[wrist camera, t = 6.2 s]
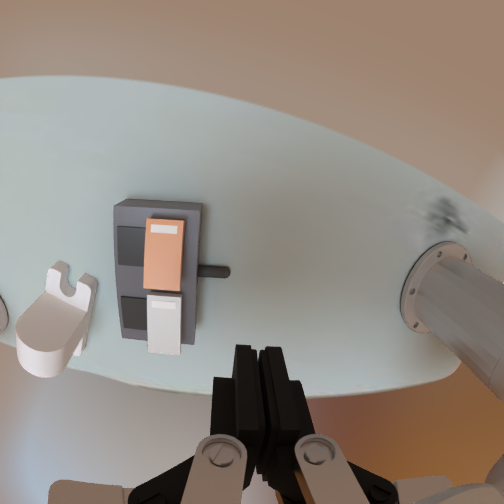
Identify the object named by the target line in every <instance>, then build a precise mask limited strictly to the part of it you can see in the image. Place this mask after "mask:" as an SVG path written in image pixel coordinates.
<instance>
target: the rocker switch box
mask: <svg viewBox="0 0 504 504" xmlns="http://www.w3.org/2000/svg"><path fill="white" fill-rule="evenodd" d="M201 213H202V203H190V202H174V201H157V200H137V199H125V200H124V201H122V202H120V203H118V204H116V205H114V256H115V274H116V287H117V299H118V308H119V317H120V325H121V333H122V338H128V339H136V340H145V341H148V332H147V294H148V293H149V292H159V293H172V294H182V318H181V344H191V345H194V342H195V329H196V303H197V278H198V277H212V278H227V277H229V275H230V271H229V269H228V268H225V267H210V266H198V259H199V242H200V227H201ZM146 218H150V219H166V220H181V221H185V226H184V240H183V255H182V274H181V289H180V291H170V290H158V289H146V288H143V281H144V251H145V233H146Z"/></svg>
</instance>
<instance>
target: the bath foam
mask: <svg viewBox="0 0 504 504" xmlns="http://www.w3.org/2000/svg"><path fill="white" fill-rule="evenodd" d="M7 322H8V316H7V311H6V308H5V306H4V303H3V301H2V300H1V298H0V334H1V333H2V332H3V331H4V329H5V328H6V326H7Z"/></svg>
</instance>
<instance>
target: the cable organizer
mask: <svg viewBox="0 0 504 504" xmlns="http://www.w3.org/2000/svg"><path fill="white" fill-rule="evenodd" d="M68 270H69V265H67V264H65V263H63V262H61V261H59V262H57V263H56V264H55V265H53V266H52V267H51V268H50V269H49V270H48V272H47V280H46V288H45V292H44V293H43V294H42V295H41V296H40V297H39V298H38V299H37V300H36V301H35V302H34V303H33V304H32V305H31V306H30V307H29V308H28V309H27V310H26V311H25V312H24V314H23V315H22V316H21V317H20V318H19V319H18V321H17V324H16V343H17V355H18V359H19V362H20V364H21V365H22V367H23V368H24V369H25V370H27V371H28V372H29V373H30V374H33V375H35V376H38V377H43V378H49V377H54V376H57V375H58V374H60V373H61V372H62V371H63V370H64V369H65V367H66V365H67V363H68V362H69V360H70V358H71V356H72V355H75V356H80V354H81V353H82V351H83V349H84V347H85V345H86V340H87V334H88V328H89V323H90V318H91V312H92V308H93V303H94V298H95V294H96V289H97V285H98V282H97V280H96V278H94V277H93V276H90V275H88V274H86V273H85V274H84V275H83V276H82V277H81V278H80V279H79V280H78V282H77V288H76V289H75V288H73V287H72V286H71V285H70V284H69V283H68V279H67V276H68Z"/></svg>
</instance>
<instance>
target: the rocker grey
mask: <svg viewBox="0 0 504 504" xmlns="http://www.w3.org/2000/svg"><path fill="white" fill-rule="evenodd" d="M181 318H182V294H172V293H159V292H149V293H148V294H147V332H148V353H158V354H168V355H180V354H181Z"/></svg>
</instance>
